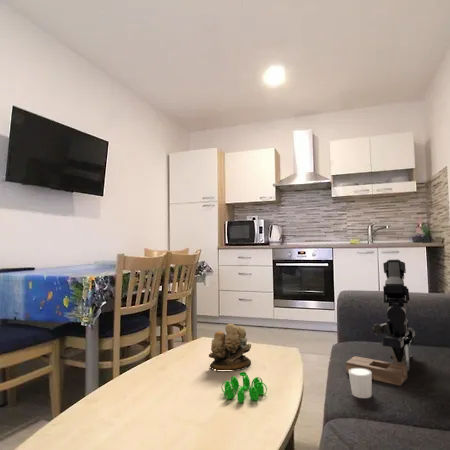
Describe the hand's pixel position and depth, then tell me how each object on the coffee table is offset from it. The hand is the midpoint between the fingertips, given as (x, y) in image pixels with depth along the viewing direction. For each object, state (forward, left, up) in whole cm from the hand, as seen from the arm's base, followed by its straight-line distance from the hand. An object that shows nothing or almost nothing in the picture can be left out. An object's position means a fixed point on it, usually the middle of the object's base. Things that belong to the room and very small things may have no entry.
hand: (400, 360), depth 124 cm
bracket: (0, 0, -3) cm, 3 cm away
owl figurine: (+31, -55, -4) cm, 63 cm away
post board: (+10, -5, -3) cm, 12 cm away
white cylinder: (+27, -4, -4) cm, 28 cm away
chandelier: (+48, -34, -4) cm, 59 cm away
